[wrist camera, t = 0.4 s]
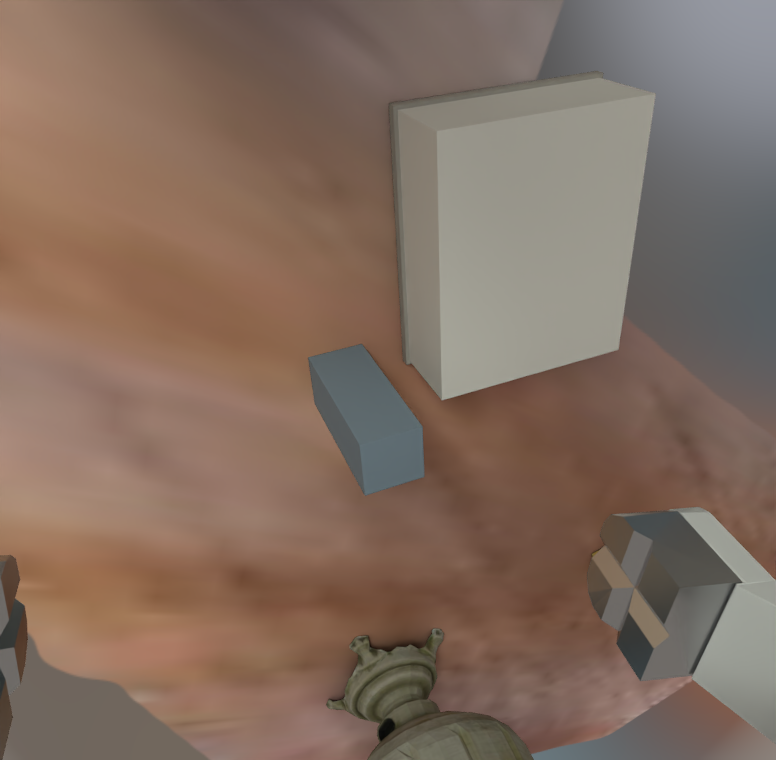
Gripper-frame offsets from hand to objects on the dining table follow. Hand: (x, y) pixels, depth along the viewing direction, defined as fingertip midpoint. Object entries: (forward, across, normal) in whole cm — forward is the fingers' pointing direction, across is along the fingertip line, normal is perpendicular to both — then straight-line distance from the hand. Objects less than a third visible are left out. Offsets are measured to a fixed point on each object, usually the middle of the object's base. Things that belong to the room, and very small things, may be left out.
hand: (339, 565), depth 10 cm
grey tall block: (+43, -9, +20) cm, 48 cm away
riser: (+44, -21, +8) cm, 49 cm away
